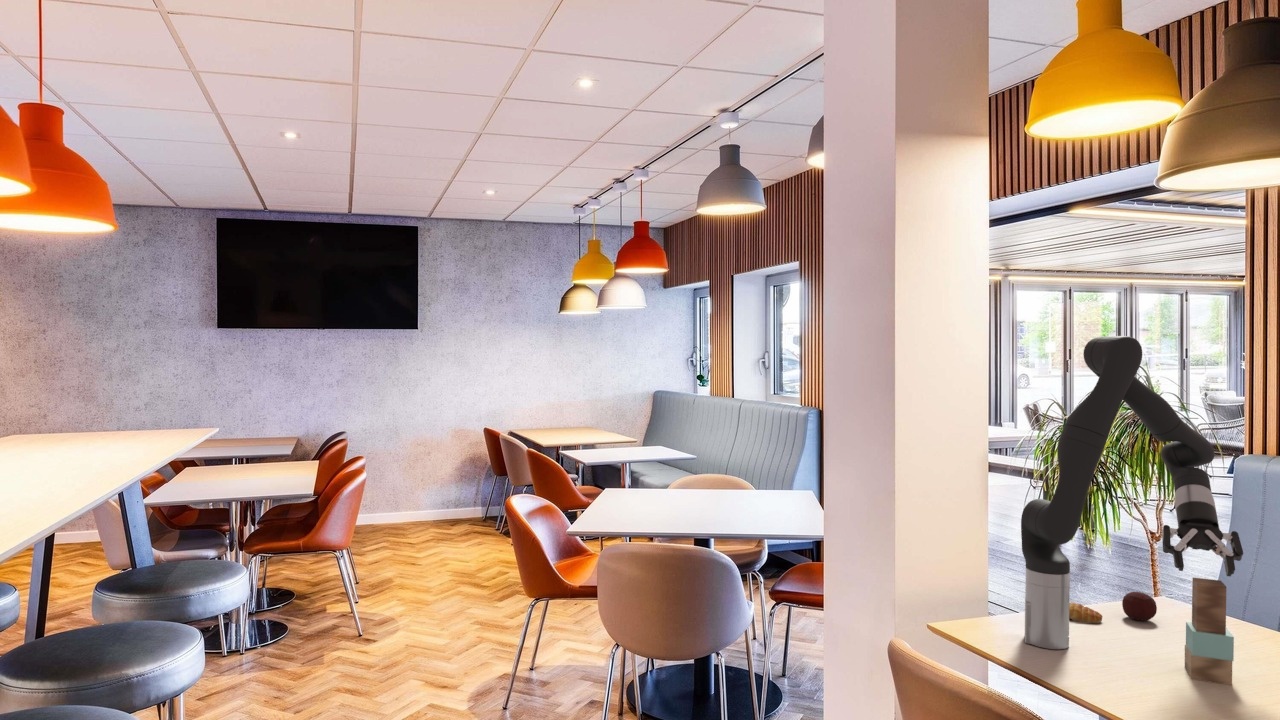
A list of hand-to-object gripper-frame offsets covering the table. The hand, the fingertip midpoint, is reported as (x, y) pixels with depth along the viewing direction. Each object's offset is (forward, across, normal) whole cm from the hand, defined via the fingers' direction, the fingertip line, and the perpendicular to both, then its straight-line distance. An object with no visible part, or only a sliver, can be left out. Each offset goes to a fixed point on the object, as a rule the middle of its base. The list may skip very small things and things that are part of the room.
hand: (1205, 571), depth 168 cm
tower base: (+18, 0, +13) cm, 22 cm away
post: (+10, 0, +6) cm, 12 cm away
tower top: (+14, 0, +9) cm, 17 cm away
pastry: (-4, -22, +34) cm, 41 cm away
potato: (-8, -8, +38) cm, 40 cm away
